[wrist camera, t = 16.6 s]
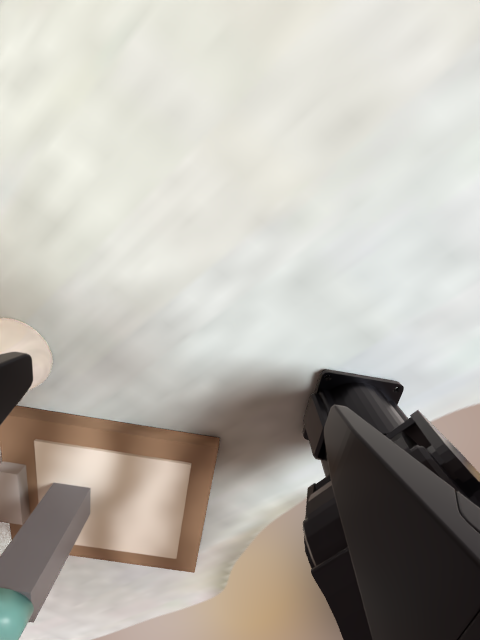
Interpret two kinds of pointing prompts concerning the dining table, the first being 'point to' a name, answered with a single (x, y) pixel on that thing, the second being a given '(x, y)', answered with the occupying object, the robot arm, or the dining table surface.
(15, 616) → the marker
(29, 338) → the metal tumbler
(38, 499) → the wooden tray
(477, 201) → the dining table surface
